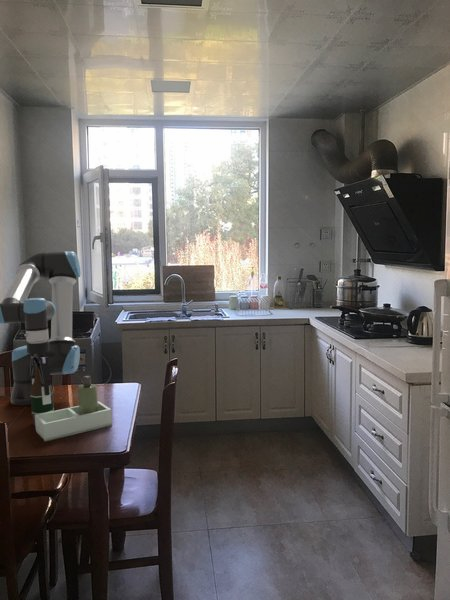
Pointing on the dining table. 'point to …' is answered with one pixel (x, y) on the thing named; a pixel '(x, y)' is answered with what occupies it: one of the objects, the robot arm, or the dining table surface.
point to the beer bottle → (39, 397)
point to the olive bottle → (87, 397)
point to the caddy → (71, 422)
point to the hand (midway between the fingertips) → (42, 399)
